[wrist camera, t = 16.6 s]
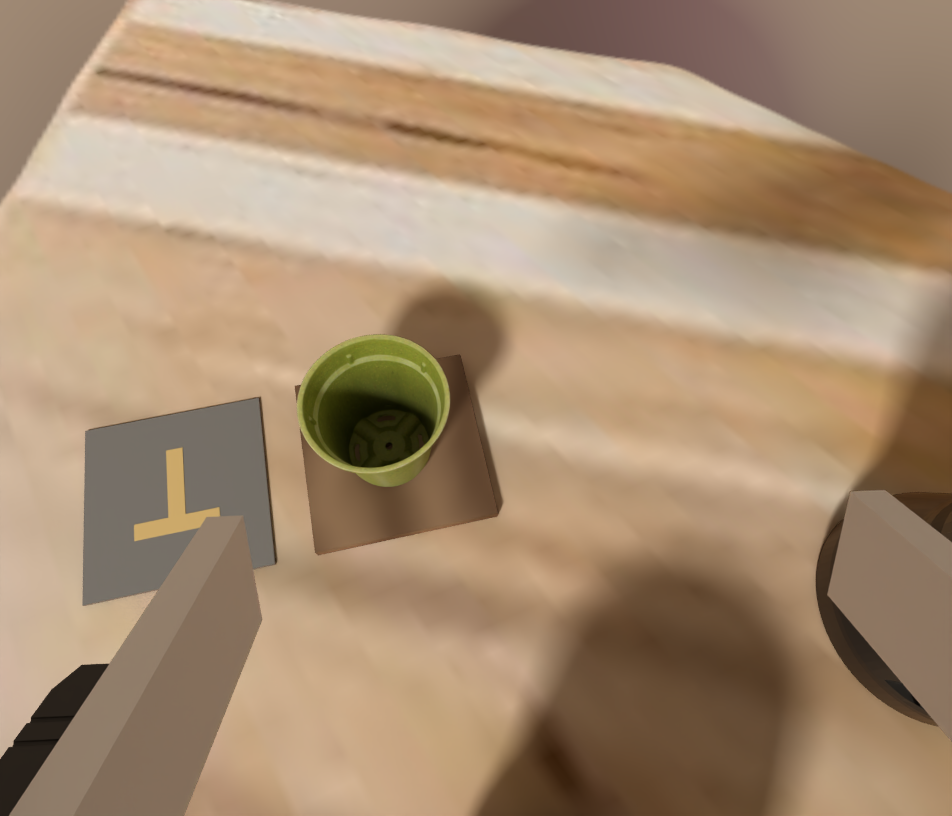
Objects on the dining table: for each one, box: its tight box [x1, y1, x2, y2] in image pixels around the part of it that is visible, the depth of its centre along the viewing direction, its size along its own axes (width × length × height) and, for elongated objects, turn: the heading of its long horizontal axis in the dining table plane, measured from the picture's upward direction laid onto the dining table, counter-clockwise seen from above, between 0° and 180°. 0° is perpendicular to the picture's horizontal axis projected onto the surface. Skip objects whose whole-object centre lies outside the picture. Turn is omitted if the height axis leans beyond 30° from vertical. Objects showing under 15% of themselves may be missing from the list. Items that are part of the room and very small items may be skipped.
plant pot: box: [297, 334, 450, 487], centre depth 43 cm, size 9×9×9 cm
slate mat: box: [83, 398, 276, 606], centre depth 47 cm, size 13×13×1 cm
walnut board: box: [295, 355, 498, 555], centre depth 48 cm, size 13×13×1 cm
